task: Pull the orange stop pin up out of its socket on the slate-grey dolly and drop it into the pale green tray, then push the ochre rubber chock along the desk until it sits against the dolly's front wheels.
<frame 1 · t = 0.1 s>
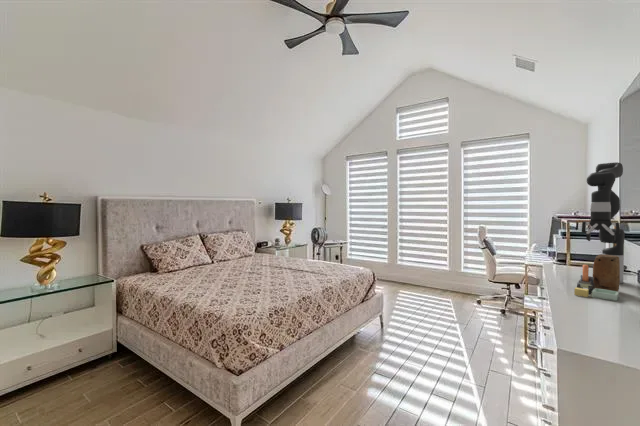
hand: (600, 241, 147), 29 cm above the table, fingers open, 8 cm apart
chock: (581, 295, 150), on the table
pin: (585, 283, 156), point 5 cm above the table, touching dolly
dolly: (585, 291, 157), on the table
brown piece: (605, 290, 158), on the table
tray: (605, 297, 147), on the table
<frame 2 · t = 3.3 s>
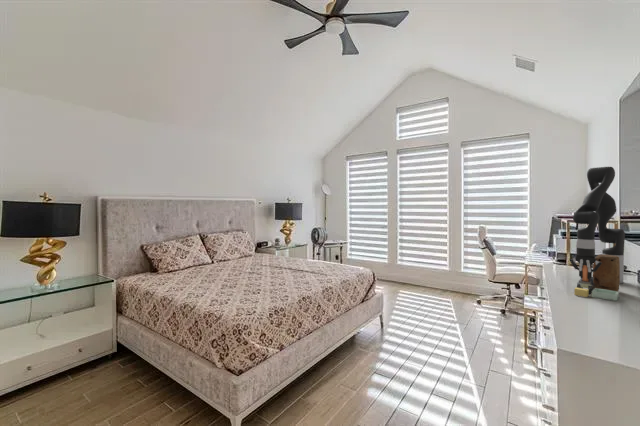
hand: (585, 278, 156), 8 cm above the table, fingers closed on pin, 2 cm apart
pin: (585, 282, 156), point 5 cm above the table, touching dolly, gripper
everything else where it was.
when the fingers open (6 cm above the table, at t = 7.2 s): pin drops 2 cm, resting on tray.
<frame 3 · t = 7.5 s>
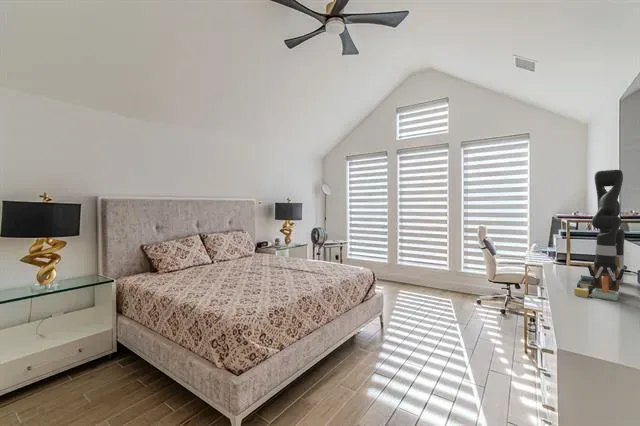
hand: (605, 286, 147), 6 cm above the table, fingers open, 5 cm apart
pin: (605, 295, 147), point 1 cm above the table, tilted 11°, touching tray
everything else where it was.
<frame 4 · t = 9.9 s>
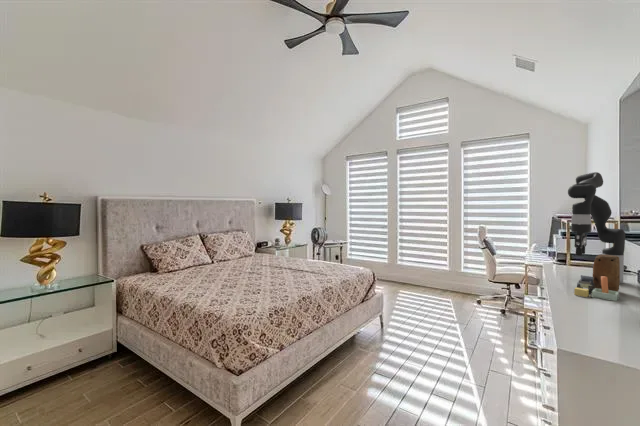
hand: (580, 254, 146), 23 cm above the table, fingers open, 7 cm apart
pin: (605, 295, 147), point 1 cm above the table, touching tray
everything else where it was.
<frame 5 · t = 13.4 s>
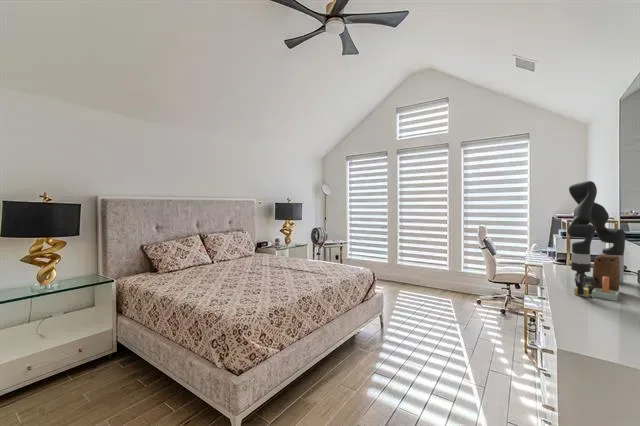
hand: (580, 294, 148), 1 cm above the table, fingers closed
chock: (581, 294, 151), on the table, touching gripper
everything else where it was.
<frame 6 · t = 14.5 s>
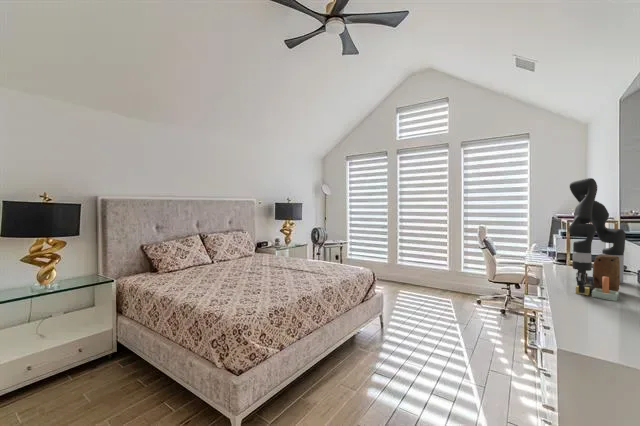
hand: (581, 292, 151), 1 cm above the table, fingers closed
chock: (582, 293, 153), on the table, touching gripper
everything else where it was.
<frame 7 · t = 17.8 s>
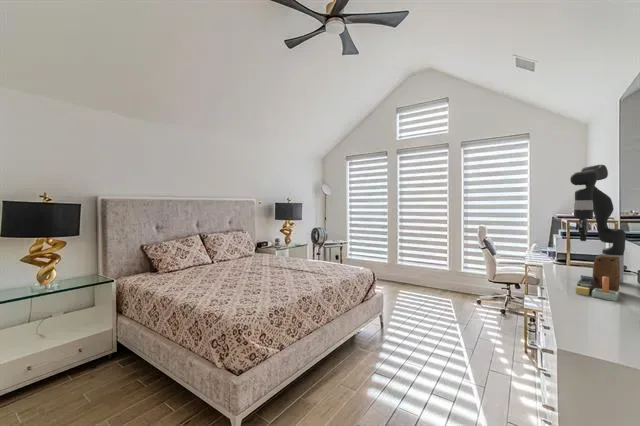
hand: (583, 240, 152), 29 cm above the table, fingers closed
chock: (582, 293, 153), on the table
everything else where it was.
at the end: pin inside the target area on the tray (0.0 cm from its centre), point 0.6 cm above the tray's base; chock 0.4 cm from the target spot, on the table; the gripper is holding nothing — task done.
